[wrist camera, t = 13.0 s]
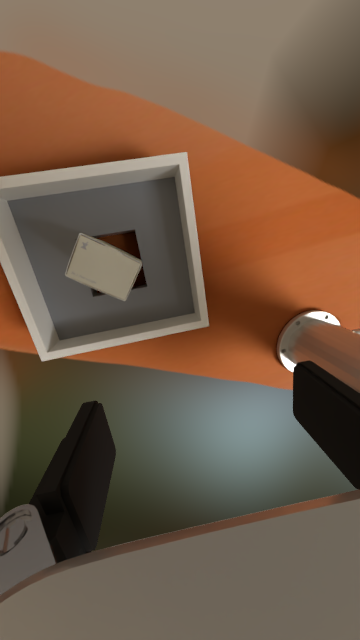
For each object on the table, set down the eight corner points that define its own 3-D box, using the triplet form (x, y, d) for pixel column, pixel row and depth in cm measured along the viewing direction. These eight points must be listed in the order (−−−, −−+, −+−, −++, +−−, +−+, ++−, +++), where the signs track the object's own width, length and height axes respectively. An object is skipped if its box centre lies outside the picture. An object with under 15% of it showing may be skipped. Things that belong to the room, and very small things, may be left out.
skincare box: (92, 267, 31) (60, 276, 20) (103, 239, 30) (76, 230, 19) (132, 286, 33) (124, 304, 21) (144, 259, 32) (143, 262, 20)
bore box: (177, 174, 29) (186, 152, 23) (197, 312, 36) (209, 326, 29) (10, 198, 27) (-34, 181, 21) (62, 340, 34) (41, 361, 27)
